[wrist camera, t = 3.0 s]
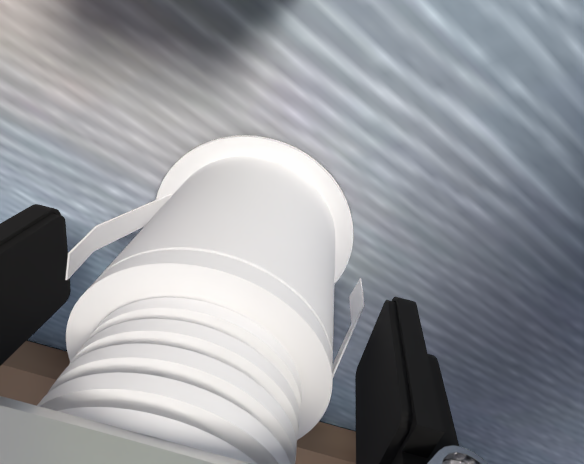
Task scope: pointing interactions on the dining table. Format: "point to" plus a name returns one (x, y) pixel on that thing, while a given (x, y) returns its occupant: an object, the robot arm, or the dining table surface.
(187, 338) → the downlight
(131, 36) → the dining table surface
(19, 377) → the walnut board
